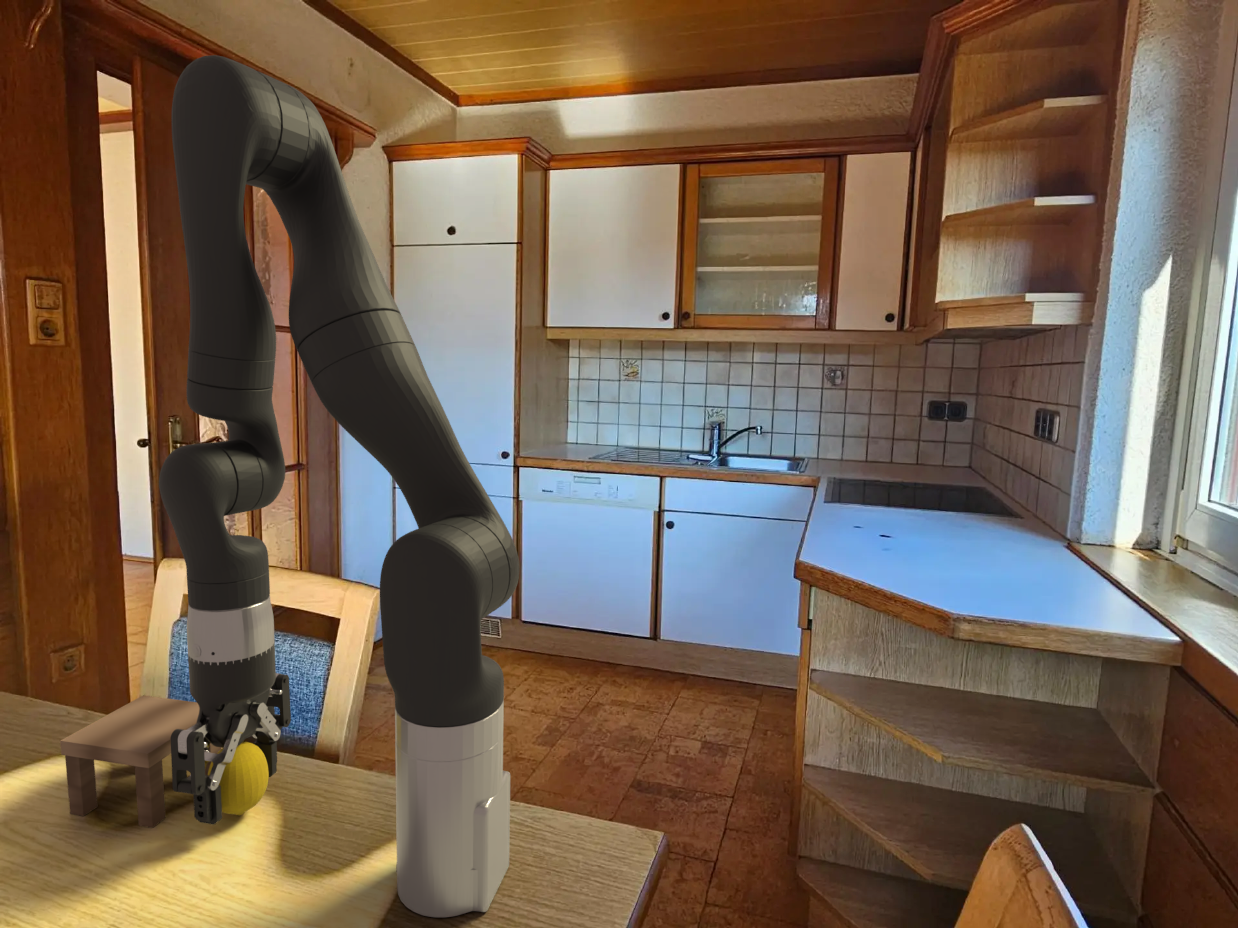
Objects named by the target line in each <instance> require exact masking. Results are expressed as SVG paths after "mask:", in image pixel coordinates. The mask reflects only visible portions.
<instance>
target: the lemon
mask: <svg viewBox="0 0 1238 928" xmlns="http://www.w3.org/2000/svg"><path fill="white" fill-rule="evenodd" d="M222 750H223V748H221V750H220V751H219V752H218V753H217V754H219V753H220V752H222ZM212 767H213V762H211V764H210V767H209V771H208V775H210V772H211V769H212ZM269 778H270V777H269V772H268V764H267V760H266V758H265V755H264V753H263V752H262V750H261V749H260V748H259V747H258V746H256V745H254V744H253V742H249V741H245V740H244V741H243V742H242V743H241V744H240V745H239V746H237V747H236V750H235V753H234V756H233V759H232V761H231V762H230V763H229V764H227V765H226V766H225V768H224V771H223V774H222V777H221V780H220V783H219V785H221V804H222V814H223V813H224V814H226V815H236V816H237V817H239V816H240V817H241V816H243V814H245V813H246V812H247V811H249V810H251V809H252V808H254V807H255V806H257V805H258V803H260V801H261V800H262V798H263V797H264V796H265V793H266V790H267V788H268V786H269V785H268V784H269Z"/></svg>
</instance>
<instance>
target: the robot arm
mask: <svg viewBox="0 0 1238 928" xmlns="http://www.w3.org/2000/svg"><path fill="white" fill-rule="evenodd" d="M171 139H172V141H171V142H172V149H173V150H172V151H173V157H174V158H173V160H174V168H175V174H176V175H175V176H176V183H177V184H176V185H177V191H178V192H177V193H178V201H179V202H178V203H179V213H180V220H181V228H182V234H183V241H184V243H183V244H184V250H185V258H186V259H185V260H186V268H187V276H188V287H189V290H188V291H189V336H188V338H189V340H188V353H187V354H188V355H187V356H188V357H187V372H186V373H187V375H186V377H187V379H186V402H187V405H188V407H189V409H191V411H193V412H194V413H195V414H196V415H198V416H201V417H205V418H208V419H211V420H217V421H222V422H223V421H224V422H225V424H226V428H227V431H228V440H224V441H216V442H215V441H214V442H203V443H201V442H200V443H193V444H185V445H182V446H178V447H177V448H176V449H174V450H172V451H171V452H170V453H169V454H168V455H167V457H166V458H165V460H164V462H163V463H162V466H161V468H160V472H159V476H158V477H159V478H158V488H159V493H160V497H161V501H162V504H163V506H164V509H165V511H166V514H167V515H168V518H169V521H170V524H171V525H172V528H173V530H174V533H175V537H176V538H177V539H176V540H177V542H178V545H179V548H180V551H181V554H182V557H183V560H184V562H185V567H186V583H187V587H186V588H187V603H188V604H187V605H188V607H187V609H188V611H187V618H186V620H187V621H186V641H187V644H186V645H187V660H188V663H187V664H188V678H189V692H190V693H189V694H190V695H191V697H192V698H193V699H194V700H195V702H197V703H198V705H199V715H198V718H197V722H196V724H195V725H193V726H192V727H190V728H189V729H187V730H182V729H176V730H174V731H173V733H172V734H171V754H170V756H171V759H170V760H171V779H172V780H171V781H172V790H173V792H176V793H183V794H188V795H192V796H193V799H192V800H193V814H194V818H195V820H196V821H198V822H199V823H201V824H209V825H212V826H213V825H216V824H217V823H219V821H221V820H222V818H223V812H222V804H221V785H219V783H220V780H221V777H222V774H223V771H224V768H225V766H226V765H227V764H229V763H230V762H231V761H232V759H233V756H234V753H235V750H236V747H237V746H239V745H240V744H241V743H242V742H243V741H245V740H246V739H248V738H250V737H253V738H254V739H255V740H254V741H253V742H252V744H254V745H256V746H258V747H259V748H260V749H261V750H262V752H263V753H264V755H265V758H266V760H267V764H268V772H269V778H271V777H273V776H274V775H276V773H277V765H278V764H277V763H278V747H277V746H278V743H277V741H278V740H279V739H280V737H281V733H282V732H281V730H282V729H283V728H288V727H289V726H290V725H291V721H292V714H291V713H292V711H291V693H290V677H289V675H288V674H286V673H285V674H283V673H277V671H276V650H275V649H276V647H275V645H276V643H275V641H276V640H275V621H274V613H273V607H272V602H271V590H270V589H271V588H270V587H271V586H270V585H271V584H270V566H269V564H270V562H269V553H268V548H267V545H266V543H264V541H263V540H262V539H260V538H257V537H255V536H251V535H242V534H230V532H229V531H228V529H227V526H226V525H225V517H226V516H230V515H236V514H242V513H246V512H252V511H257V510H260V509H264V508H266V507H268V506H269V505H271V504H273V502H274V501H275V500H276V499H277V498H278V496H279V495H280V493H281V491H282V489H283V487H284V486H283V485H284V484H285V483H284V482H285V478H286V462H285V457H284V456H285V455H284V452H283V448H282V447H283V446H282V444H281V439H280V438H281V437H280V434H279V429H278V423H277V419H276V413H275V410H274V404H273V391H274V379H275V368H276V367H275V366H276V355H277V334H276V333H277V332H276V331H277V330H276V324H275V319H274V315H273V310H272V308H271V305H270V302H269V300H268V297H267V294H266V291H265V289H264V286H263V284H262V282H261V279H260V277H259V274H258V272H257V269H256V267H255V264H254V261H253V257H252V255H251V251H250V248H249V243H248V240H247V236H246V235H247V234H246V229H245V220H244V219H245V217H244V213H245V212H244V203H245V201H244V200H245V193H246V186H247V185H248V186H251V187H255V188H259V189H261V190H262V191H264V192H265V194H266V195H267V196H268V197H269V199H270V201H271V202H272V204H273V206H274V207H275V209H276V211H277V213H278V215H279V216H280V219H281V221H282V223H283V226H284V228H285V229H284V230H285V231H286V233H287V235H288V237H289V240H290V244H291V247H292V252H293V259H294V260H293V261H294V264H293V270H292V271H293V273H292V279H291V286H290V293H289V302H288V303H289V304H288V326H289V331H290V336H291V338H292V341H293V343H294V346H295V349H296V352H297V353H298V355H299V357H300V360H301V363H302V364H303V365H302V366H303V367H304V369H305V371H306V374H307V375H308V377H309V380H310V382H311V385H312V387H313V388H314V391H315V393H316V394H317V396H318V398H319V400H320V402H321V403H322V405H323V407H324V408H325V409H326V410H327V412H328V413H329V414H330V415H331V417H332V418H333V419H334V420H335V421H336V422H337V423H338V424H339V425H340V427H342V428H343V429H344V430H345V431H346V432H347V433H348V434H349V436H351V437H352V438H353V439H354V440H355V441H356V442H357V443H359V445H361V446H362V448H363V449H365V450H366V451H367V453H369V454H370V455H371V456H372V457H373V458H374V459H375V460H376V461H378V463H379V465H381V466H382V467H383V468H384V469H385V470H386V472H387V473H388V474H389V475H390V476H391V478H393V480H394V483H396V484H397V486H398V488H399V490H400V492H401V493H402V495H403V497H404V499H405V500H406V503H407V504H408V508H409V509H410V511H411V513H412V514H411V515H413V518H414V520H415V522H416V525H417V528H416V529H414V530H412V531H409V532H407V533H405V534H403V535H402V536H400V537H399V538H398V539H396V540H395V541H394V542H393V543H392V544H391V546H390V547H389V549H388V550H387V552H386V555H385V556H384V559H383V562H382V567H381V571H380V578H379V579H380V580H379V607H380V620H381V621H380V623H381V636H382V637H381V639H382V651H383V652H382V653H383V663H384V670H385V673H386V676H387V680H388V681H389V684H390V686H391V688H392V690H393V694H394V729H395V730H394V732H395V733H394V735H395V736H394V740H395V741H394V742H395V743H394V747H395V748H394V749H395V751H394V752H395V758H394V759H395V810H396V811H395V817H396V818H395V819H396V820H395V822H396V823H395V825H396V827H395V828H396V829H395V830H396V831H395V834H396V838H395V839H396V865H395V867H396V868H395V869H396V882H397V883H396V887H397V895H398V898H399V899H400V901H401V903H402V904H404V906H405V907H406V908H407V909H408V910H411V911H412V912H414V913H415V914H418V915H421V916H425V917H431V918H450V917H457V916H460V915H463V914H466V913H470V912H481V913H485V912H488V910H489V908H490V905H491V904H492V901H493V900H494V898H495V896H496V894H497V892H498V890H499V888H500V885H501V883H502V882H503V879H504V877H505V875H506V873H507V871H508V870H509V867H510V841H511V840H510V837H511V836H510V831H511V830H510V827H511V826H510V825H511V773H510V772H509V771H506V770H503V769H504V703H505V701H504V699H505V698H504V697H505V695H504V694H505V680H504V679H505V677H504V672H503V670H502V668H501V665H500V664H499V663H498V662H496V661H495V660H494V659H493V658H491V657H489V656H486V655H484V654H483V651H482V633H481V632H482V631H481V628H482V627H481V626H482V625H481V622H482V621H481V620H483V619H484V618H485V617H487V616H489V615H490V614H492V613H493V612H495V611H496V610H498V609H500V608H501V607H502V606H504V605H505V604H506V603H507V602H508V600H510V598H511V597H512V596H513V594H514V593H515V591H516V589H517V586H518V583H519V579H520V570H521V569H520V560H519V559H520V558H519V555H518V551H517V547H516V544H515V542H514V539H513V538H512V535H511V533H510V531H509V530H508V527H507V526H506V524H505V522H504V520H503V518H502V516H501V515H500V514H499V512H498V510H497V508H496V507H495V505H494V503H493V501H492V500H491V498H490V496H489V494H488V493H487V491H486V490H485V488H484V487H483V484H482V483H481V481H480V479H479V478H478V476H477V474H476V472H475V471H474V469H473V468H472V465H471V464H470V462H469V461H468V458H467V457H466V454H465V452H464V451H463V448H462V447H461V444H460V442H459V440H458V438H457V435H456V433H455V431H454V429H453V427H452V425H451V423H450V420H449V418H448V416H447V414H446V412H445V410H444V407H443V406H442V403H441V400H440V399H439V397H438V395H437V393H436V391H435V388H434V387H433V384H432V382H431V380H430V377H429V375H428V373H427V370H426V369H425V366H424V364H423V362H422V359H421V356H420V354H419V351H418V349H417V346H416V344H415V342H414V339H413V337H412V335H411V333H410V331H409V329H408V326H407V324H406V322H405V320H404V317H403V316H402V313H401V311H400V309H399V307H398V305H397V303H396V301H395V299H394V297H393V294H392V293H391V292H390V290H389V288H388V285H387V282H386V281H385V278H384V276H383V274H382V271H381V269H380V267H379V264H378V262H377V259H376V257H375V255H374V252H373V249H372V248H371V246H370V244H369V243H370V242H369V241H368V239H367V236H366V234H365V232H364V230H363V228H362V226H361V223H360V221H359V219H358V216H357V213H356V210H355V207H354V204H353V202H352V198H351V196H350V193H349V189H348V186H347V184H346V181H345V178H344V174H343V171H342V169H341V166H340V163H339V160H338V156H337V154H336V151H335V147H334V145H333V141H332V139H331V136H330V133H329V131H328V128H327V126H326V123H325V122H324V119H323V118H322V115H321V114H320V111H319V110H318V108H317V107H316V106H315V104H314V103H313V102H312V101H311V99H309V98H308V97H307V96H306V95H304V93H302V92H301V91H300V90H298V89H297V88H295V87H293V86H291V85H290V84H287V83H285V82H283V81H281V80H279V79H276V78H274V77H272V76H270V75H267V74H265V73H263V72H261V71H258V70H256V69H255V68H252V67H250V66H247V65H245V64H243V63H242V62H238V61H236V60H233V59H230V58H228V57H226V56H223V55H222V56H220V55H215V54H214V55H213V54H211V55H203V56H201V57H198V58H195V59H194V60H193V61H191V62H190V63H189V64H188V65H186V67H185V68H184V69H183V71H182V72H181V74H180V75H179V78H178V80H177V82H176V84H175V87H174V91H173V96H172V106H171ZM275 708H278V709H279V714H276V711H275ZM210 743H211V744H212V745H214V746H216V747H221V749H222V748H223V750H222V752H220V753H219V754H215V753H210V752H209V745H210ZM210 761H212V762H213V767H212V769H211V772H210V775H205V769H206V766H207V763H208V762H210ZM187 772H189V773H190V775H189V776H187V775H188V773H187Z"/></svg>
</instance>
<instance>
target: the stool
mask: <svg viewBox="0 0 1238 928" xmlns="http://www.w3.org/2000/svg"><path fill="white" fill-rule="evenodd" d="M198 715H199V705H198V703H197V702H196V701H190V700H189V701H188V700H181V699H176V698H175V699H174V698H168V697H167V698H166V697H160V696H152V695H151V696H150V695H145V694H144V695H141V696H139V697H138V698H135V699H134V700H132V701H130V702H129V703H126V704H125V705H123V706H121V707H119V708H117V709H116V710H114V711H112V712H110V713H108V714H107V715H105V716H103V717H101V718H99V719H97V720H96V721H93V722H92V723H90V724H88V725H86V726H84V727H83V728H81V729H79V730H77V731H75V732H73V733H71V734H70V735H68V736H66V737H64V738H62V739H61V740H59V742H60V743H59V744H60V752H61V753H60V754H61V756H65V757H64V758H65V768H66V772H65V773H66V779H67V780H66V782H67V784H66V785H67V791H68V792H67V793H68V806H69V814H70V815H73V816H74V815H75V816H81V817H84V816H86V815H88V814H89V813H90V812H92V811H93V810H95V809H96V808H98V807H99V806H98V805H99V804H98V794H97V793H98V791H97V781H96V769H95V767H96V766H95V761H101V762H105V763H106V762H107V763H112V764H113V763H114V764H118V765H119V764H120V765H126V766H132V767H134V776H135V789H136V791H135V793H136V803H137V805H136V806H137V819H138V826H139V827H145V828H150V829H153V828H155V827H157V826H158V825H159V824H160V823H161V822H163V821H164V820H165V819H166V802H165V788H164V787H165V785H164V772H163V771H164V770H163V759H165V758H166V757H168V756H170V755H171V734H172V733H173V731H174V730H176V729H182V730H187V729H189V728H190V727H192V726H193V725H195V724H196V722H197V718H198ZM221 749H222V748H221V747H216V746H214V745H212V744H211V743H210V745H209V752H210V753H215V754H217V753H218V752H219V751H220V750H221ZM211 762H212V761H210V762H208V763H207V766H206V769H205V775H208V771H209V767H210V764H211Z"/></svg>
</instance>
